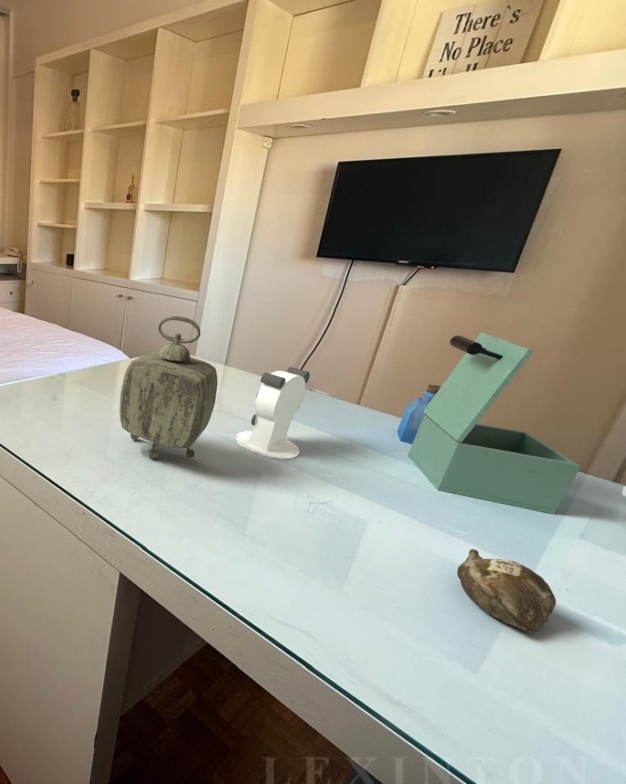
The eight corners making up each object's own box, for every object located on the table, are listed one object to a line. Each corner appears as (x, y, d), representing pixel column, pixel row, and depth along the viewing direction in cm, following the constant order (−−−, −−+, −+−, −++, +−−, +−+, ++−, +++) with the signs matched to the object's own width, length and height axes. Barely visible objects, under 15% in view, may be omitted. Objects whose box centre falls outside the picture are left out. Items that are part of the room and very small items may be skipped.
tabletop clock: (202, 457, 82) (233, 321, 73) (188, 478, 75) (220, 329, 66) (128, 434, 89) (148, 307, 80) (108, 450, 82) (127, 313, 73)
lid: (486, 333, 79) (450, 321, 80) (534, 351, 67) (491, 337, 68) (427, 413, 86) (394, 401, 87) (461, 442, 74) (423, 427, 75)
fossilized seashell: (453, 546, 58) (437, 593, 53) (508, 526, 54) (497, 576, 48) (508, 597, 56) (498, 652, 50) (571, 581, 51) (568, 641, 45)
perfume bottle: (432, 439, 98) (453, 387, 94) (437, 449, 93) (460, 395, 89) (397, 431, 101) (416, 380, 97) (400, 440, 96) (420, 387, 92)
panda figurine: (256, 427, 97) (274, 360, 92) (311, 449, 88) (334, 377, 83) (224, 439, 90) (241, 367, 85) (280, 464, 82) (303, 386, 76)
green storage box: (506, 474, 84) (527, 432, 81) (554, 514, 72) (581, 466, 69) (407, 455, 89) (424, 414, 86) (437, 490, 77) (457, 443, 74)
